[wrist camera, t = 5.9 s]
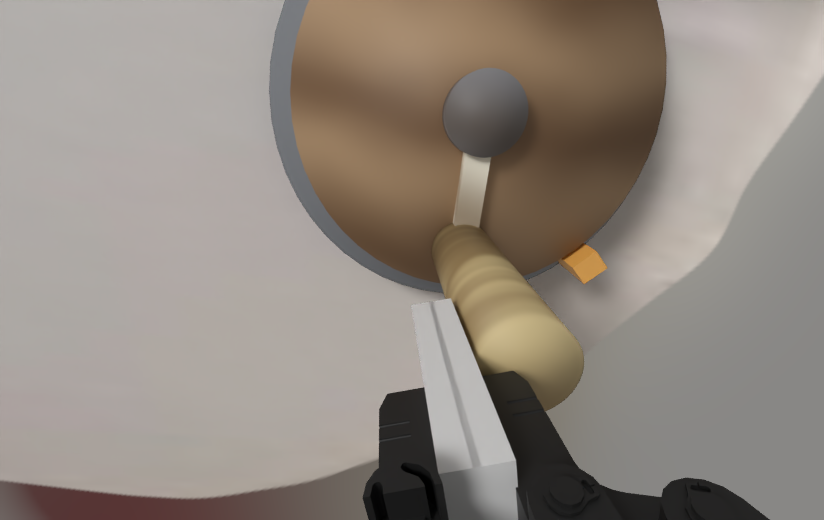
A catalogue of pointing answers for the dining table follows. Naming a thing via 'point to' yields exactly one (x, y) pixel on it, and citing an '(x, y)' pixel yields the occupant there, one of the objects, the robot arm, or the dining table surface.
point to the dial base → (578, 262)
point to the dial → (480, 148)
